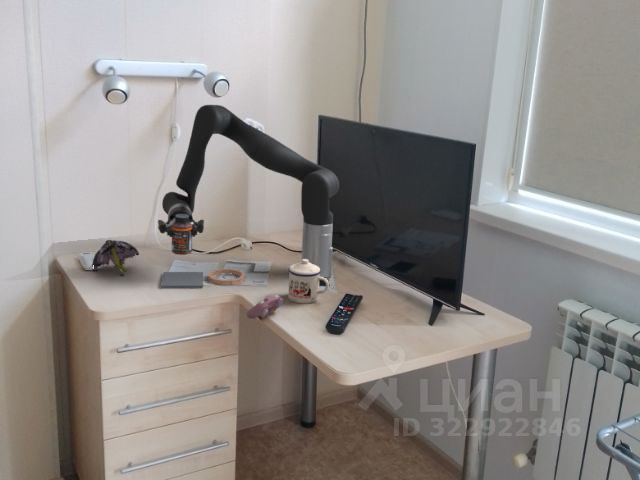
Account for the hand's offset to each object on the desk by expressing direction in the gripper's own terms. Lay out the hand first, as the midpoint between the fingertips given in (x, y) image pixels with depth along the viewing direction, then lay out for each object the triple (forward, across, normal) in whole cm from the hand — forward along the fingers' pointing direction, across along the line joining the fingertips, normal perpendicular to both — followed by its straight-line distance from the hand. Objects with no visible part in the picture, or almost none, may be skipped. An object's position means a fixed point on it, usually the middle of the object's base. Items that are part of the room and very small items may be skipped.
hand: (182, 233), depth 198 cm
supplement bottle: (-2, 0, +7) cm, 7 cm away
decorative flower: (-12, -20, +16) cm, 28 cm away
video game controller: (+26, +21, +15) cm, 37 cm away
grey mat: (-2, 0, +16) cm, 16 cm away
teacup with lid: (+16, +35, +15) cm, 41 cm away
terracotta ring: (-3, +13, +16) cm, 21 cm away
